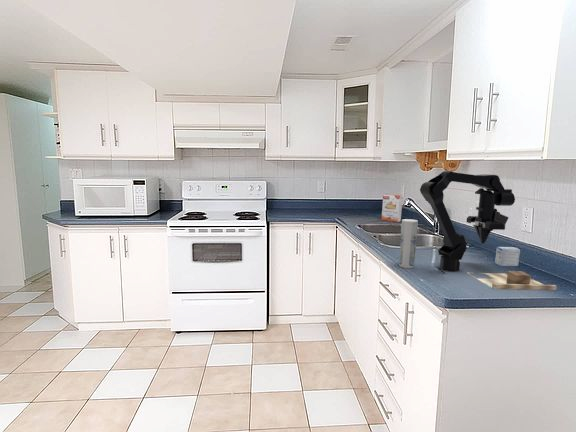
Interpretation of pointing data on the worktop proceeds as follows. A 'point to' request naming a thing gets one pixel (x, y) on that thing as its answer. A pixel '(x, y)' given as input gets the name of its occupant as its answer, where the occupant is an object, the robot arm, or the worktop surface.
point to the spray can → (408, 243)
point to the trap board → (501, 283)
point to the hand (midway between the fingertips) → (482, 243)
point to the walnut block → (518, 277)
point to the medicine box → (507, 256)
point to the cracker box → (392, 207)
